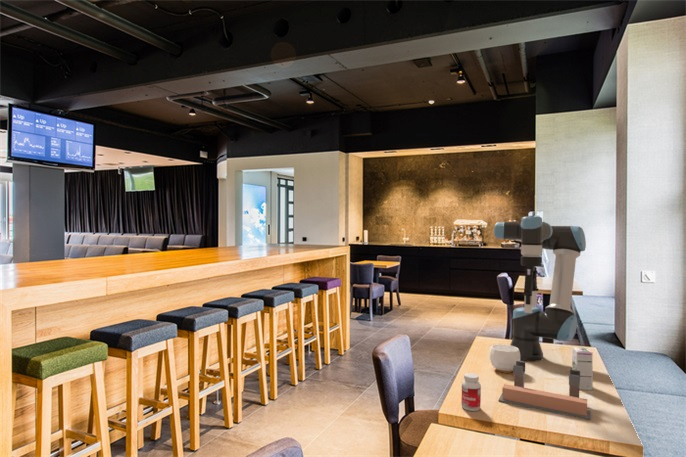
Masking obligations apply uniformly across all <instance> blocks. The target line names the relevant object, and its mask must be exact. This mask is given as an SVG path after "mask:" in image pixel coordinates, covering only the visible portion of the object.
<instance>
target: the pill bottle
mask: <svg viewBox="0 0 686 457" xmlns="http://www.w3.org/2000/svg"><path fill="white" fill-rule="evenodd" d="M463 379H464V380H462V381H461V407H462V409H464V410H466V411H469V412H477V411H479V410H480V409H481V405H482V404H481V400H482V398H481V397H482V396H481V394H482V392H481V391H482V385H481V383H480V382H479V380H480V379H479V375H478V374H476V373H472V372H471V373H470V372H466V373H464V375H463Z"/></svg>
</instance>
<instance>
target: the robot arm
mask: <svg viewBox="0 0 686 457" xmlns="http://www.w3.org/2000/svg"><path fill="white" fill-rule="evenodd" d="M493 234H494V236H495V239H499V240H509V241H516V242H520V244H521V245H520V247H519V250H520V254H521V256H520V265H521V266H523V267H526V268H525V270H524V271H525V272H524V287H523V292H522V296H523V297H524V299H523V300H524V302H523V304H524V305H523V306H522V307H517V308H515V309H514V310H513V311H512V318H511V319H512V339H511V342H510V344H509V345H511V346H514V347H517V348H518V349H519V351H520V361H523V362H525V361H526V362H540V361H542V360H543V359H544V352H543V349H542V346H541V342H540V338H544V339H549V340H554V341H558V342H570V341H572V340H573V339H574V337H575V335H576V333H577V332H576V331H577V328H578V318H577V317H576V316H575V315H574V314H575V313H574V311H573V310H572V308H571V304H572V296H573V289H574V278H575V271H576V263H577V258H579V257H580V256H581V252H585V251H586V248H587V245H586V244H587V243H586V242H587V241H586V235H585V231H584V229H583V227H581V226H580V225H579V226H578V225H577V226H574V225H551V224H549V223H548V222H545V221H543V218H542V217H541V216H523V217H522V218H521V221H498V222H496V223H495V224H494V227H493ZM543 250H549V251H551V250H552V253H553V254H554V255H555V259H554V268H553V276H552V281H551V282H552V284H551V290H550V299H549V305H547V306H545V308H544V309H545V310H544V311H541V309H540V307H537V292H539V288H538V282H537V280H538V278H537V277H538V276H537V275H538V271H537V267H541V266H542V265H543V264H542V263H543V262H542V259H543V257H542V255H543Z"/></svg>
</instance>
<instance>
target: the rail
mask: <svg viewBox="0 0 686 457" xmlns="http://www.w3.org/2000/svg"><path fill="white" fill-rule="evenodd" d="M501 389H502V390H501V392H502V393H501V394H502V399H505V400H510V401H515V402H520V403H525V404H530V405H535V406H540V407H545V408H550V409H555V410H560V411H565V412H569V413H574V414H579V415H584V416H587V410H588V399H587V398H584V397H583V398H582V397H579V398H577V397H572V396H569V395H566V394H561V393H556V392H555V393H554V392H549V391H544V390H537V389H533V388H527V387H524V388H523V387H518V386H514V385H511V384H506V383H504V384H503V386H502V388H501Z"/></svg>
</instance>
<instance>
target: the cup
mask: <svg viewBox="0 0 686 457" xmlns="http://www.w3.org/2000/svg"><path fill="white" fill-rule="evenodd" d="M489 360H490V363H491V365H492V366H493V368H495V369H496V370H497V371H498V372H500V373H506V374H510V373H511V372H512V373H513V366H514V365H516V361H521V360H520V351H519V349H518V348H517V347H514V346H511V345H510V344H502V343H501V344H500V343H498V344H497V343H496V344H492V345H491V346H490V349H489Z"/></svg>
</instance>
